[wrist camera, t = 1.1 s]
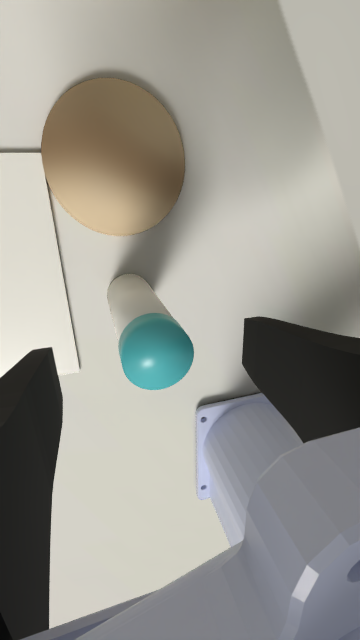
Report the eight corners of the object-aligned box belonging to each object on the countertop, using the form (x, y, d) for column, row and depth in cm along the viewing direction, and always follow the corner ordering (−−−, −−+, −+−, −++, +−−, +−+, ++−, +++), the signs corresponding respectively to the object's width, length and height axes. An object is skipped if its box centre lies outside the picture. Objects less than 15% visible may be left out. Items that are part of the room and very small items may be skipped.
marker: (153, 313, 19) (194, 382, 12) (108, 319, 19) (125, 395, 12) (150, 270, 18) (193, 319, 11) (103, 275, 18) (118, 330, 11)
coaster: (184, 230, 18) (186, 231, 18) (56, 239, 16) (56, 240, 16) (181, 84, 15) (183, 82, 15) (27, 76, 14) (26, 72, 13)
